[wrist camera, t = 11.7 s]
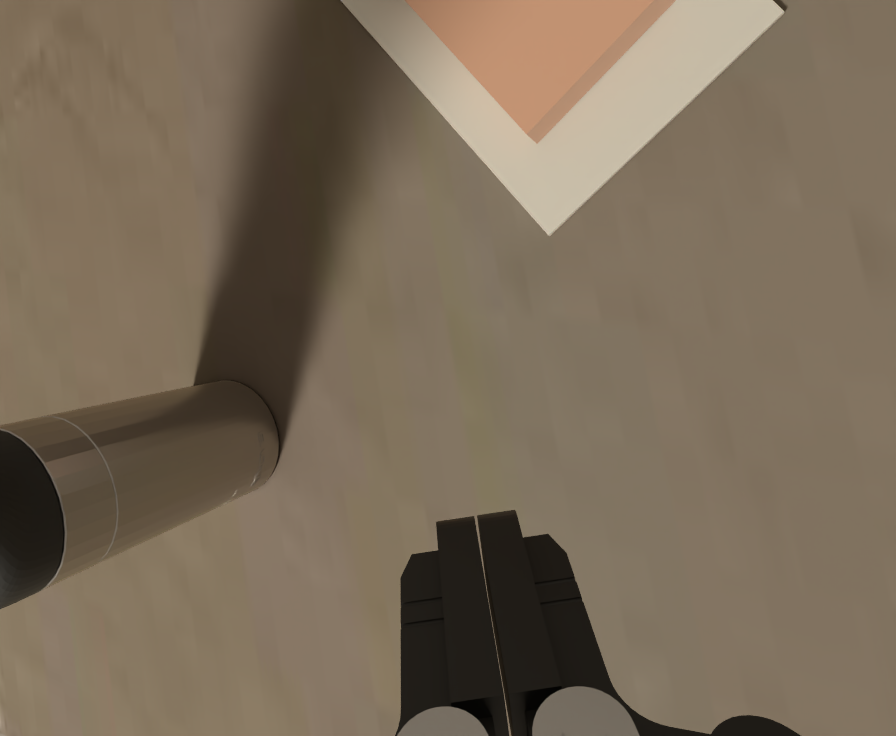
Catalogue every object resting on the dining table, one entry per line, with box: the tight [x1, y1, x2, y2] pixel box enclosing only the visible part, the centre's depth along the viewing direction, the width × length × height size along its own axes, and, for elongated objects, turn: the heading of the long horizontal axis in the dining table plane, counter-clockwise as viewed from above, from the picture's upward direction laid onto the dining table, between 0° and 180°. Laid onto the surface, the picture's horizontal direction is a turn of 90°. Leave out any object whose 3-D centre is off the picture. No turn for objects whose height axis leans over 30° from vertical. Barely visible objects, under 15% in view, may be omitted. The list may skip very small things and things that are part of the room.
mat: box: [341, 0, 784, 236], centre depth 35 cm, size 22×16×1 cm
